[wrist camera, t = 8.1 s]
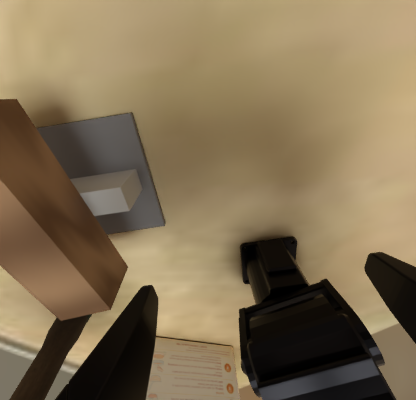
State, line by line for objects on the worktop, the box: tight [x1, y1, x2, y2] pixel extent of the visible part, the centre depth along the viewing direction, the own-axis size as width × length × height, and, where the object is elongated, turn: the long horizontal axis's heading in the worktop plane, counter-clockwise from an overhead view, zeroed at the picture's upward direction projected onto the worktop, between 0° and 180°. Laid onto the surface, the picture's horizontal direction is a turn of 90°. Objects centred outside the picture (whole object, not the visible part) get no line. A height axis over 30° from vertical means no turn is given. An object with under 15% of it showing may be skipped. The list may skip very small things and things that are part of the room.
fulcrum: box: [36, 113, 165, 234], centre depth 17 cm, size 11×12×4 cm
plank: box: [0, 99, 128, 321], centre depth 13 cm, size 14×4×4 cm, turn 15°
